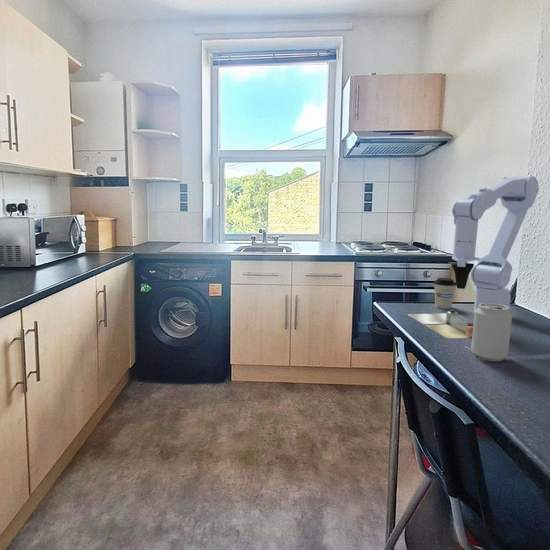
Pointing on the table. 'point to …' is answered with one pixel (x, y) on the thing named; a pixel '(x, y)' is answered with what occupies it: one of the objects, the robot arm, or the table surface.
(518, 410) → the table surface
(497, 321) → the can
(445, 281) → the coffee cup
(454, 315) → the latch
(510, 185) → the robot arm
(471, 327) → the board
